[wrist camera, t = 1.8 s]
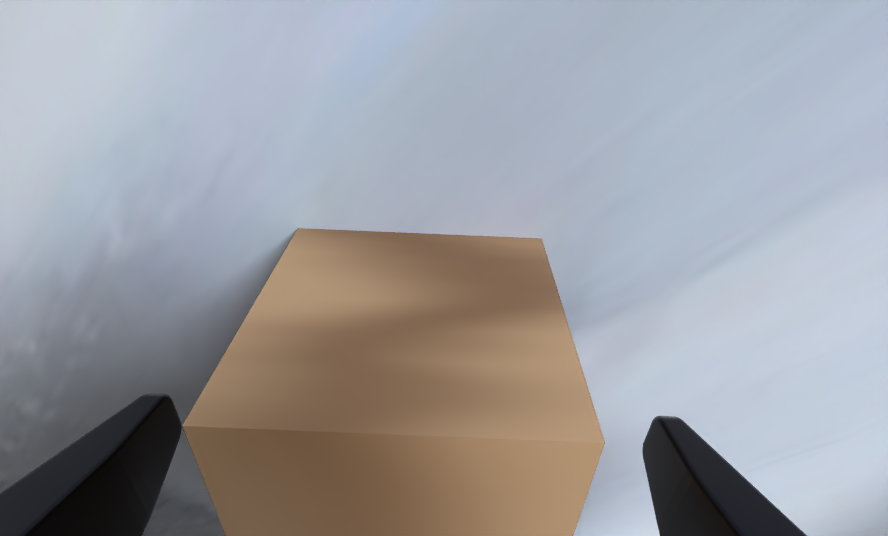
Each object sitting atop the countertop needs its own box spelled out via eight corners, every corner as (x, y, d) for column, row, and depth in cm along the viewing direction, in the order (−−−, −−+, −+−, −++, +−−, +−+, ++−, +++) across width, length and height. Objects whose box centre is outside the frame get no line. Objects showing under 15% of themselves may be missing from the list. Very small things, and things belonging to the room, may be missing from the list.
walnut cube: (540, 236, 10) (604, 442, 6) (513, 402, 13) (542, 626, 8) (298, 227, 10) (182, 426, 6) (323, 395, 13) (257, 614, 8)
